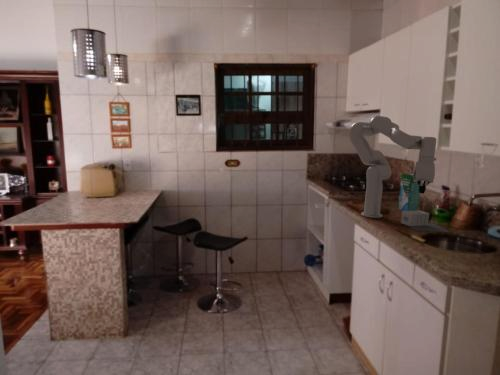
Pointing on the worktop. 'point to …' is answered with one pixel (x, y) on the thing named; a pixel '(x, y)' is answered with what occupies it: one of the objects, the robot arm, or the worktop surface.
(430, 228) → the mat
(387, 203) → the worktop surface
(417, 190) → the milk carton
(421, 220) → the supplement box
